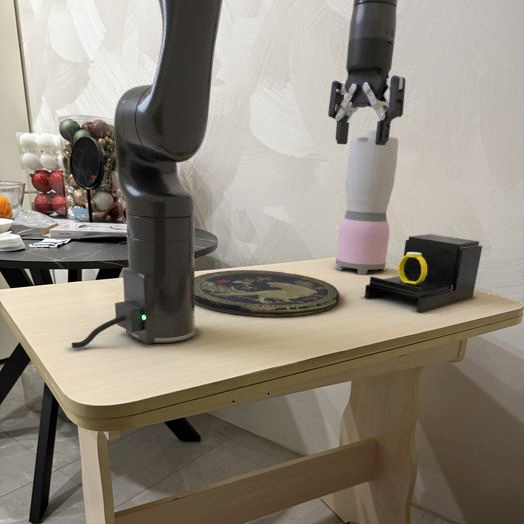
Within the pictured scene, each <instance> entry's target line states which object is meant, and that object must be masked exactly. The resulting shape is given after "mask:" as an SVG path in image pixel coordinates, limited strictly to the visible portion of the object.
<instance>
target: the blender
mask: <svg viewBox="0 0 524 524" xmlns="http://www.w3.org/2000/svg"><path fill="white" fill-rule="evenodd" d="M376 132H377V129H376V130H374V129H367V130H364V131H363V135H352V136H351V137H350V141H349V145H348V146H349V147H348V154H347V162H346V171H345V201H346V212H345V215H344V217H343V219H342V220H341V222H340V225H339V229H338V238H337V251H336V258H335V264H336V270H338V271H343V269H344V268H349V269H356V270H357V274H358V275H367V274H368V270H380V271H384V270H385V268H386V264H387V261H386V260H387V253H388V247H389V239H390V225H389V223H388V218H387V211H388V207H389V204H390V199H391V196H392V192H393V189H394V184H395V179H396V178H395V176H396V171H397V163H398V149H399V139H398V137H394V136H393V137H391V136H389V139H388V141H387V142H386V145H376V144H375V140H376Z"/></svg>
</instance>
